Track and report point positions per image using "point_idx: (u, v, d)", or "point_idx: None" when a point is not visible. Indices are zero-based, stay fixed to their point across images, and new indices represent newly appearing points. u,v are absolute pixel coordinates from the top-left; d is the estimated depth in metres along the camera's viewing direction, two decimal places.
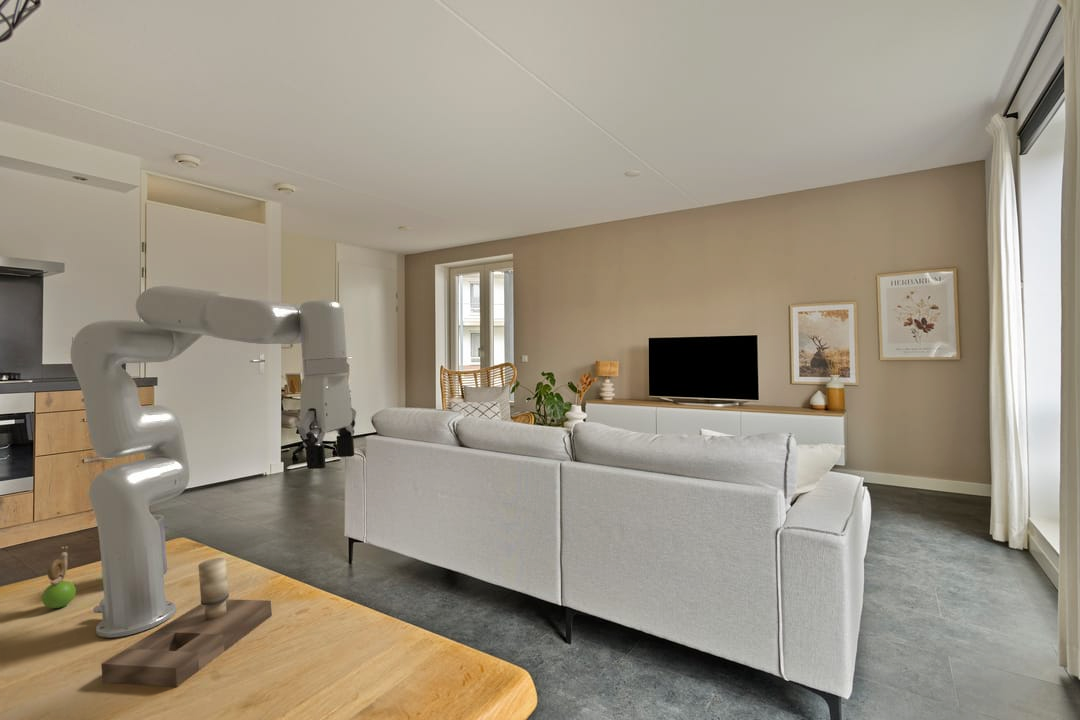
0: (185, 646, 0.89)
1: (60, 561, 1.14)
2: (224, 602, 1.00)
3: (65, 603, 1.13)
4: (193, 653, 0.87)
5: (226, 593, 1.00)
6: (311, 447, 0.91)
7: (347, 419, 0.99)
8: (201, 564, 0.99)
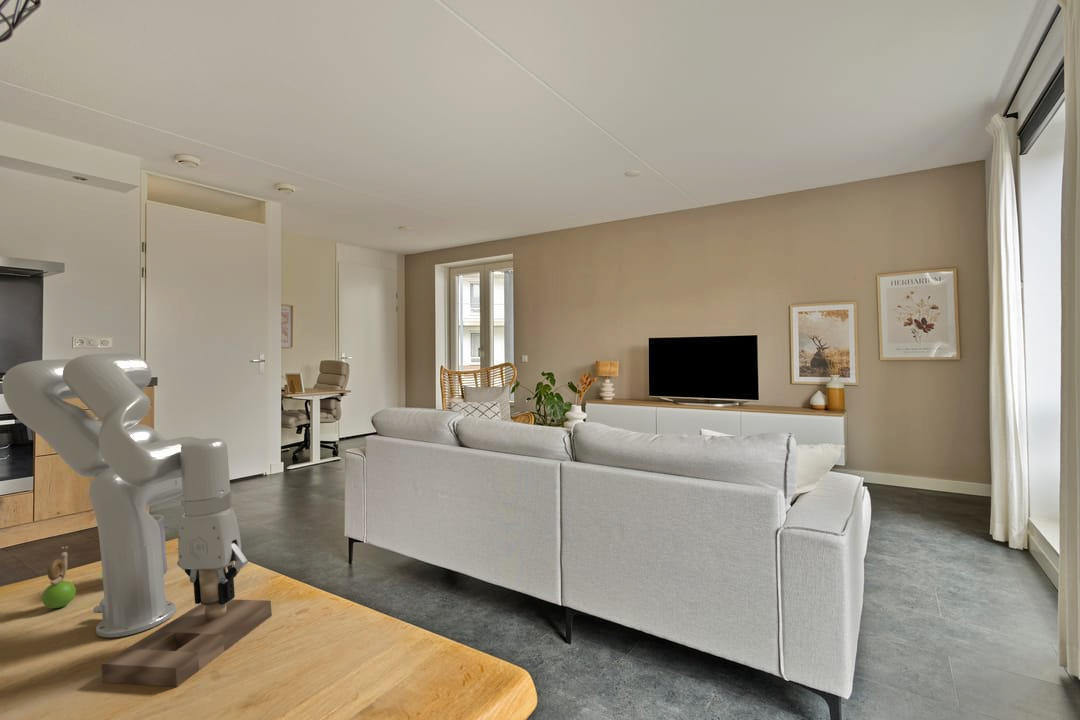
0: (185, 646, 0.89)
1: (60, 561, 1.14)
2: None
3: (65, 603, 1.13)
4: (193, 653, 0.87)
5: None
6: (230, 581, 0.99)
7: None
8: None
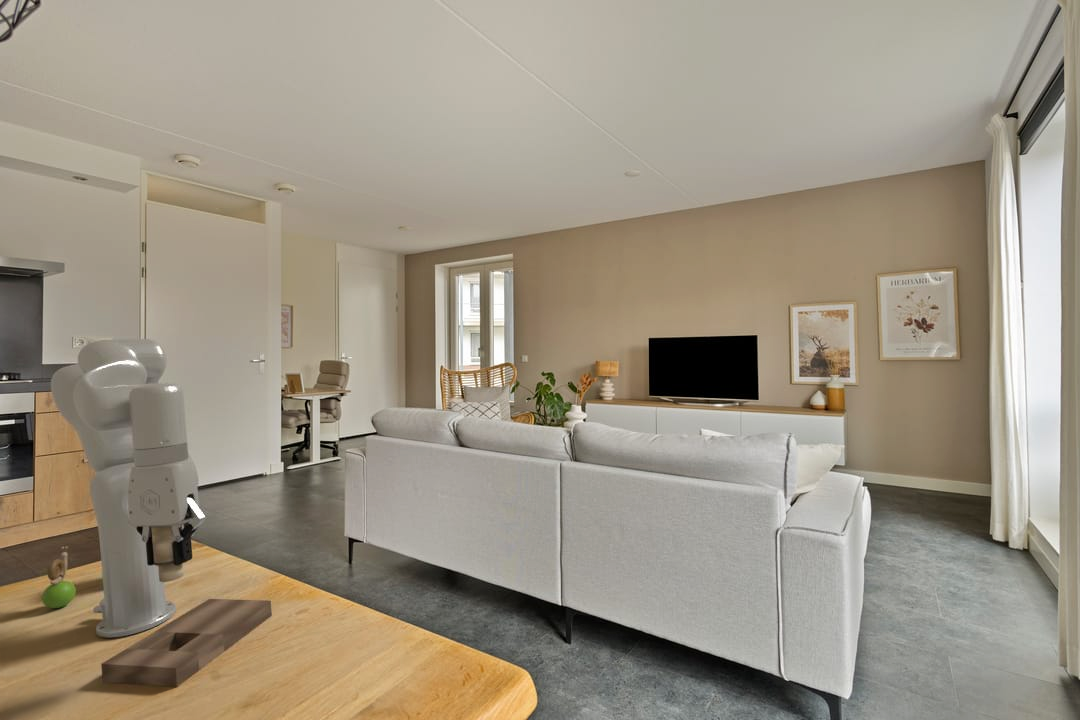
0: (185, 646, 0.89)
1: (60, 561, 1.14)
2: None
3: (65, 603, 1.13)
4: (193, 653, 0.87)
5: None
6: (186, 540, 0.90)
7: None
8: None
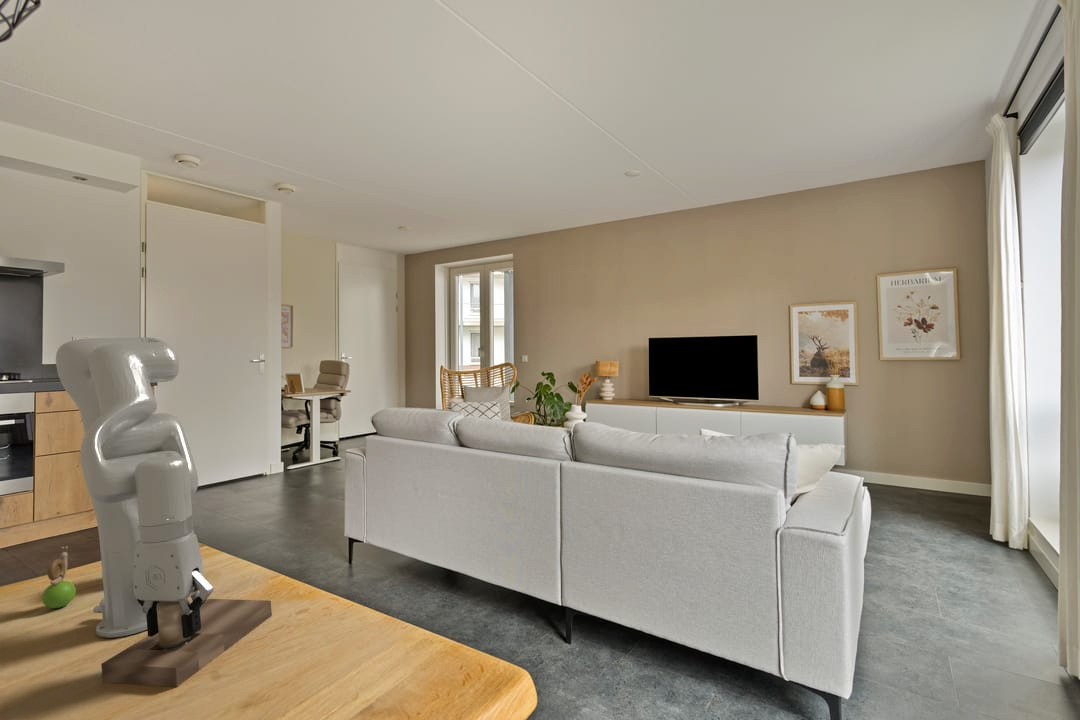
0: (185, 646, 0.89)
1: (60, 561, 1.14)
2: None
3: (65, 603, 1.13)
4: (193, 653, 0.87)
5: None
6: (195, 612, 0.90)
7: None
8: (160, 603, 0.90)
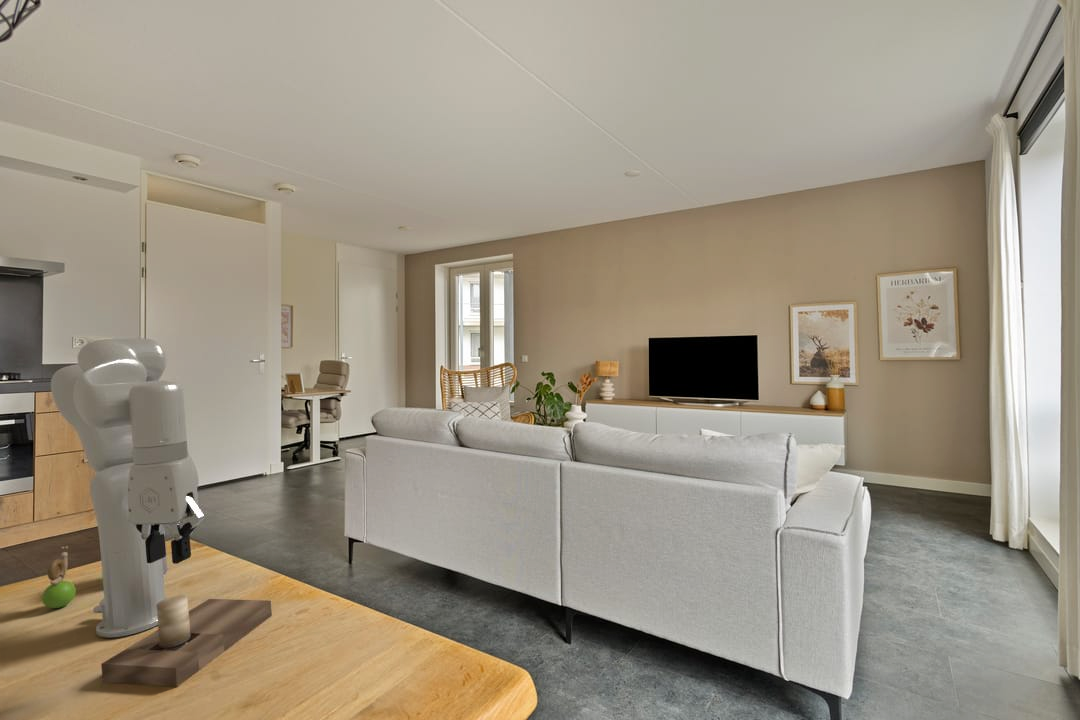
0: (185, 646, 0.89)
1: (60, 561, 1.14)
2: None
3: (65, 603, 1.13)
4: (193, 653, 0.87)
5: (187, 635, 0.91)
6: (185, 538, 0.90)
7: None
8: (160, 603, 0.90)
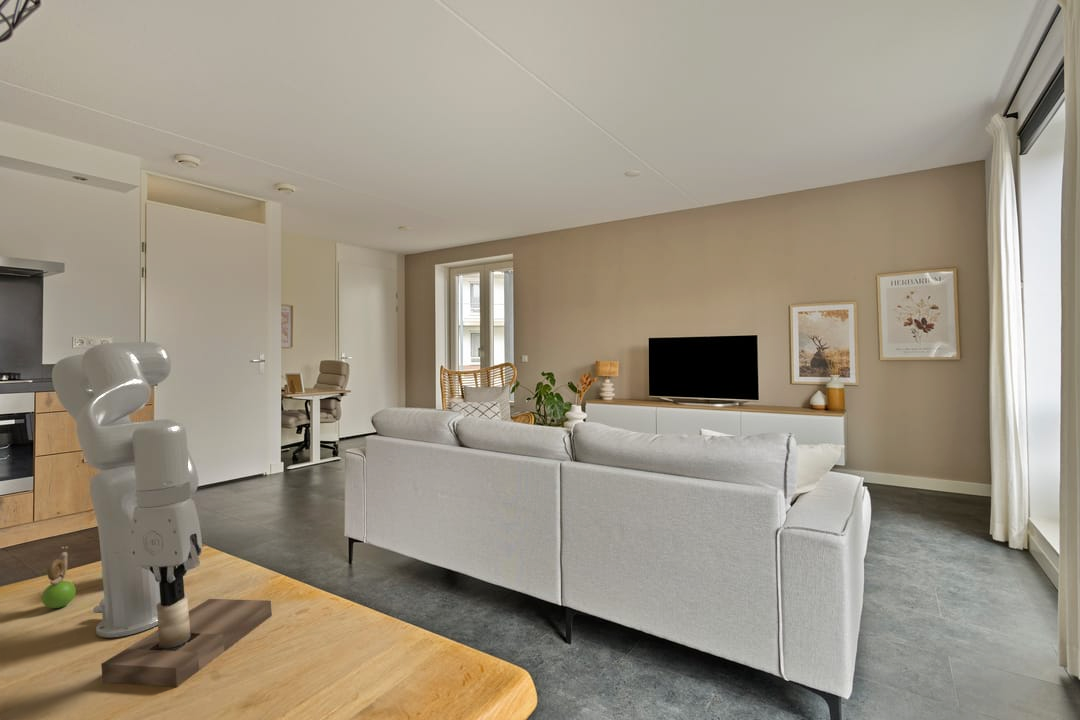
0: (185, 646, 0.89)
1: (60, 561, 1.14)
2: None
3: (65, 603, 1.13)
4: (193, 653, 0.87)
5: (187, 635, 0.91)
6: (178, 580, 0.90)
7: None
8: (160, 603, 0.90)
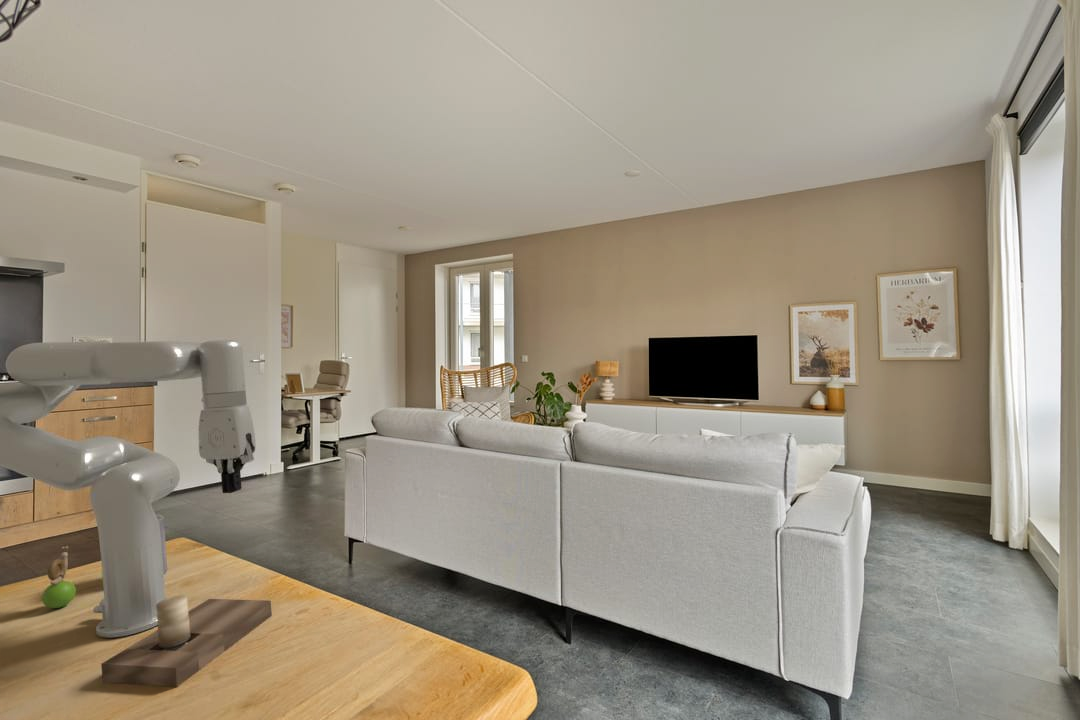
0: (185, 646, 0.89)
1: (60, 561, 1.14)
2: None
3: (65, 603, 1.13)
4: (193, 653, 0.87)
5: (187, 635, 0.91)
6: (236, 472, 1.07)
7: None
8: (159, 603, 0.90)
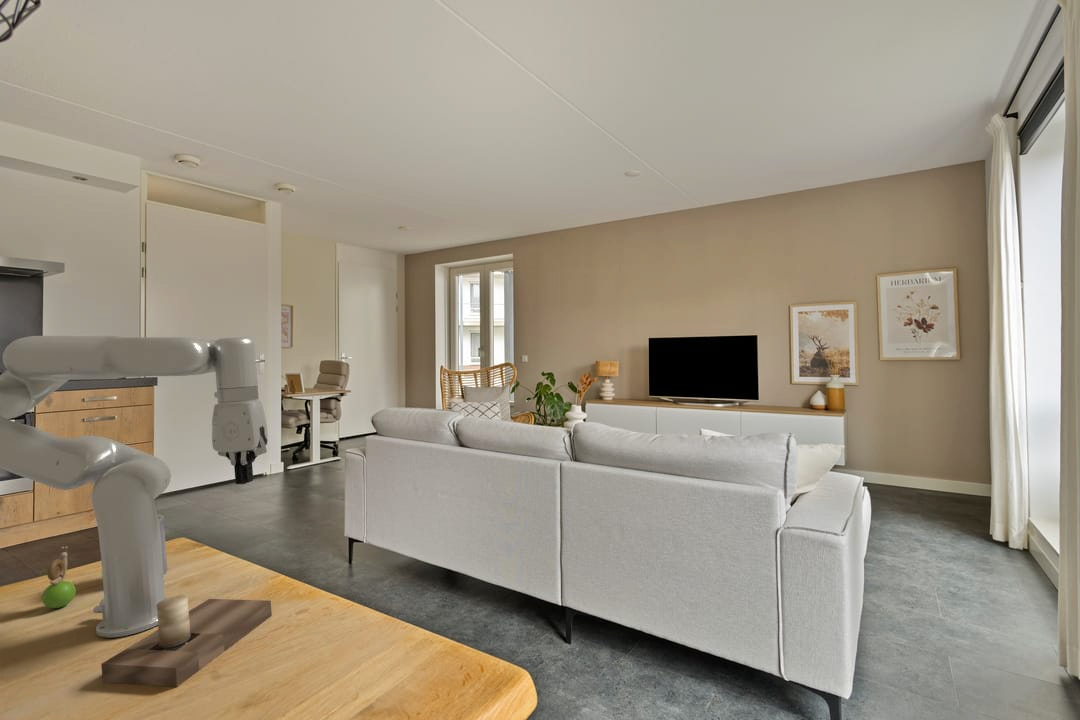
0: (185, 646, 0.89)
1: (60, 561, 1.14)
2: None
3: (65, 603, 1.13)
4: (193, 653, 0.87)
5: (187, 635, 0.91)
6: (249, 464, 1.11)
7: None
8: (160, 603, 0.90)
